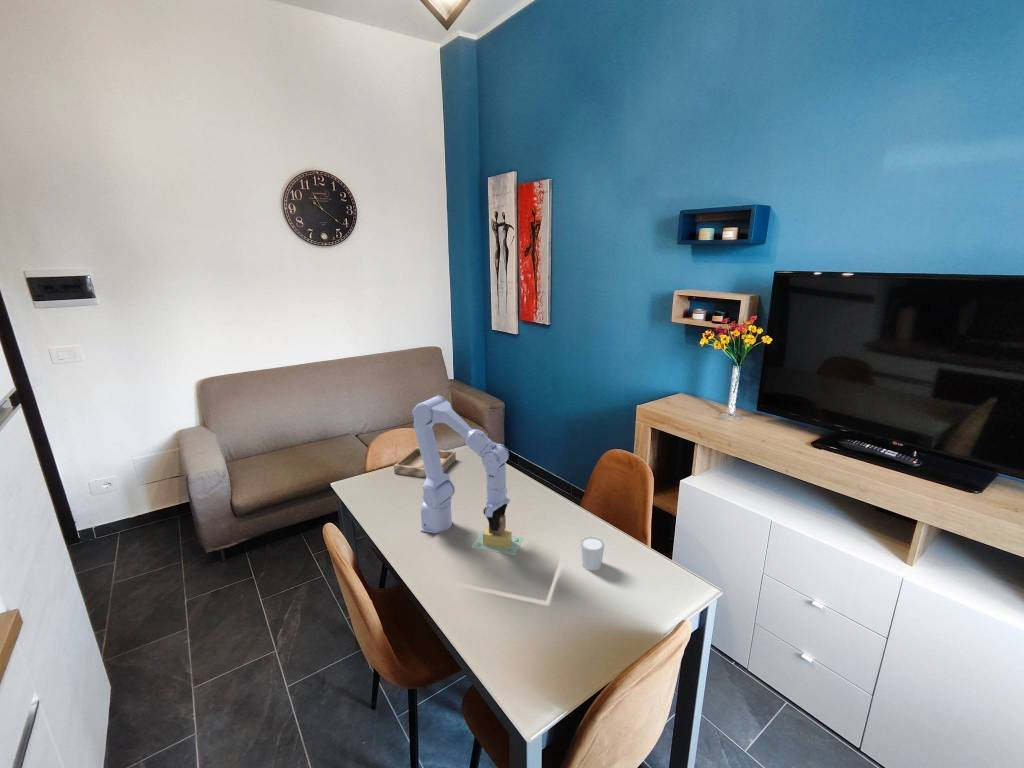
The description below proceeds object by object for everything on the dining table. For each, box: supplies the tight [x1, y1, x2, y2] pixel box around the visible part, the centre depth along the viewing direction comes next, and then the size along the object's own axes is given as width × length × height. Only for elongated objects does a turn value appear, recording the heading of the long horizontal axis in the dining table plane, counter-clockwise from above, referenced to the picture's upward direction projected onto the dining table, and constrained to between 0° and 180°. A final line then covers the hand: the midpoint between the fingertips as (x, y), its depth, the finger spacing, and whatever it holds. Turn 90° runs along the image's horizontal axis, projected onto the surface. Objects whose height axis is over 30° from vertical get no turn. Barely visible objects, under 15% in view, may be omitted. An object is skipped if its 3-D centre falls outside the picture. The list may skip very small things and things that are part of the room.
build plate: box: [470, 530, 524, 556], centre depth 145 cm, size 14×9×1 cm, turn 73°
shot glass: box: [579, 536, 605, 572], centre depth 135 cm, size 7×7×7 cm
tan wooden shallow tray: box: [393, 446, 457, 479], centre depth 199 cm, size 19×19×4 cm
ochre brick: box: [483, 526, 513, 549], centre depth 145 cm, size 8×4×4 cm, turn 73°
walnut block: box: [488, 514, 507, 535], centre depth 144 cm, size 4×4×4 cm
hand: (497, 525), depth 144 cm, fingers closed on walnut block, 4 cm apart
